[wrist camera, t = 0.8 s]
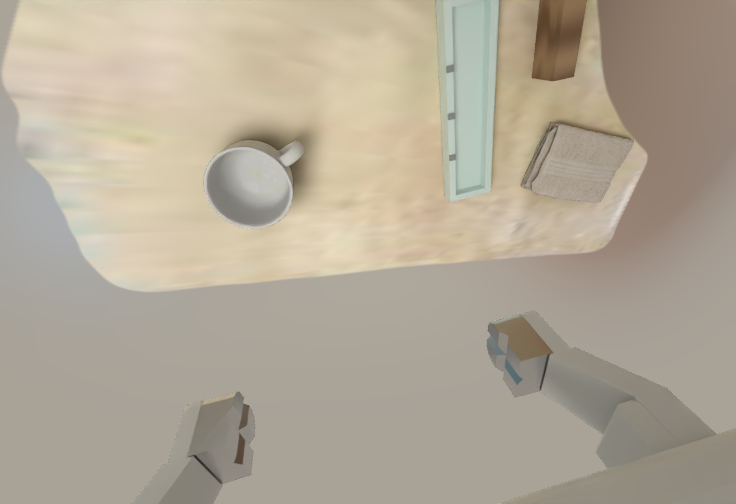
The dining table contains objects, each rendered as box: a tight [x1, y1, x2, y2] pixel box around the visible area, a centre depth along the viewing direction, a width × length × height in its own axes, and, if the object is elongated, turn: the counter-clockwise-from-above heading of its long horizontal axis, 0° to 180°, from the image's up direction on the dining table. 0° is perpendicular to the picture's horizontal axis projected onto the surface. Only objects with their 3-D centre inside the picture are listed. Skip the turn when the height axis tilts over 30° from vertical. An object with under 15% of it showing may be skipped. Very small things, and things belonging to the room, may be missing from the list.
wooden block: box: [532, 0, 587, 81], centre depth 43 cm, size 11×3×5 cm, turn 10°
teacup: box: [203, 140, 305, 229], centre depth 44 cm, size 14×11×8 cm
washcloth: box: [521, 122, 634, 202], centre depth 57 cm, size 12×18×3 cm, turn 79°
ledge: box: [436, 0, 499, 202], centre depth 48 cm, size 27×8×3 cm, turn 10°
